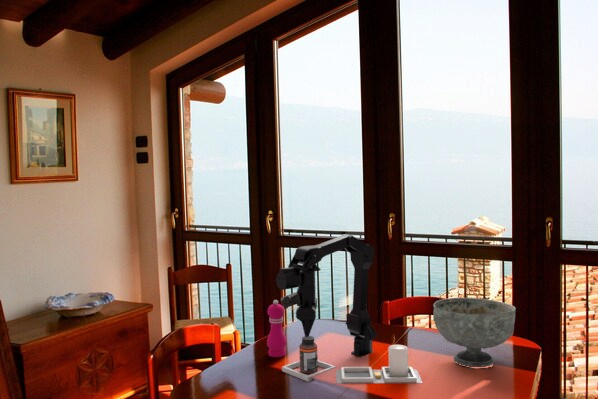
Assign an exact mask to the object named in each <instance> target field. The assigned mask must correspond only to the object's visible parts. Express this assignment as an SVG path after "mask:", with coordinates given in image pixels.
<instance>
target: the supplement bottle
mask: <svg viewBox="0 0 598 399" xmlns="http://www.w3.org/2000/svg"><path fill="white" fill-rule="evenodd" d="M298 346H299V361H300V366H299V372H300V373H303V374H305V375H311V374H314V373H316V372H318V371H319V368H318V367H319V366H318V360H319V359H318V358H319V357H318V356H319V354H318V345H317V343H316V342H315V336H312V335H309V337H305V335H304V336H302V337H301V343H300V344H299V345H298Z"/></svg>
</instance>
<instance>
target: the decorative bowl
mask: <svg viewBox="0 0 598 399" xmlns="http://www.w3.org/2000/svg"><path fill="white" fill-rule="evenodd" d="M432 306H433V316H432V318H433V321H434V325H435V327H436V330H437V331H438V333H439V334H440V336H442V337H443V338H444V339H445V340H447V342H449V343H452V344H454V345H457V346H460V347H463V348H464V347H465V349H466V350H461V351H459V352H458V353H455V355H454V356H453V362H454V361H455V362H457V363H458V364H461V365H465V366H469V367H486V366H490V365H492V364H493V363H494V358H493V356H491V354H489V353H488V352H485V351H482V349H488V348H489V349H490V348H494V347H497V346H499V345H501V344H504V343H505V342H507V341H508V340H509V339H510V338H511V337H512V336H513V335H514V330H515V323H516V322H515V321H516V306H514V305H512V304H510V303H507V302H501V301H499V300H492V299H486V298H475V297H452V298H451V297H449V298H443V299H439V300H436V301H435V302H434V303H433V305H432ZM455 362H454V363H455ZM458 364H457V365H458ZM493 365H494V364H493Z"/></svg>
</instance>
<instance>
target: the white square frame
mask: <svg viewBox="0 0 598 399" xmlns="http://www.w3.org/2000/svg"><path fill="white" fill-rule="evenodd" d="M318 367H321V368H323V369H322V370H320V371H319V370H318V371H317V372H315V373H312V374H305V373H302V372H301V371H297V370H294V369H297V368H300V360H297V361H295V362H292V363H289V364H285V365H283V366H281V371H282V372H283V373H286V374H288V375H291V376H293V377H295V378H298V379H301V380H303V381H305V382H311V381H314V380H315V378H312V377H314V376H317V375H320V374H322V373H325V372H327V371H331V370H333V369H336V368H337V367H336V365H333V364H330V363H328V362H324V361H321V360H319V359H318Z"/></svg>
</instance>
